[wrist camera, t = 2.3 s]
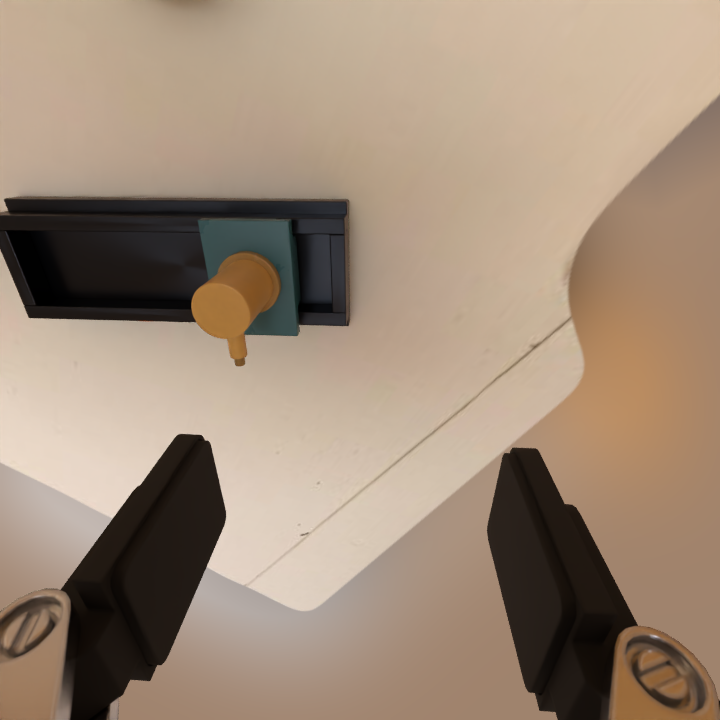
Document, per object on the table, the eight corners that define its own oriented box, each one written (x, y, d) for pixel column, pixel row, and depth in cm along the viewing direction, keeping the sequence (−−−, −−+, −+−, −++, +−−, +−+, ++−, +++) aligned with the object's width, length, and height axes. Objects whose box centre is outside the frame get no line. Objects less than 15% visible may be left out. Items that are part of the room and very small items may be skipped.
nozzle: (234, 319, 31) (184, 375, 23) (217, 212, 27) (151, 238, 20) (306, 320, 31) (279, 378, 23) (299, 212, 27) (264, 239, 19)
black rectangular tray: (61, 313, 33) (32, 327, 31) (17, 196, 29) (-21, 202, 26) (350, 320, 32) (346, 336, 29) (348, 199, 28) (344, 205, 25)
